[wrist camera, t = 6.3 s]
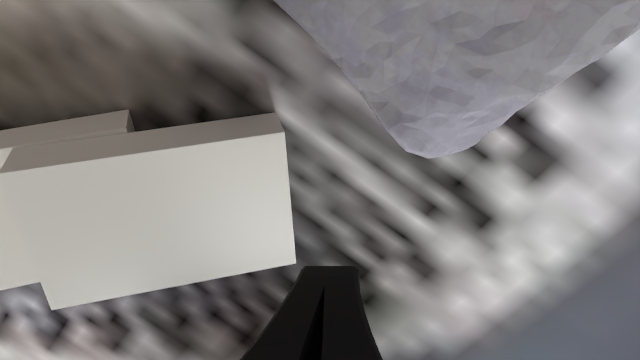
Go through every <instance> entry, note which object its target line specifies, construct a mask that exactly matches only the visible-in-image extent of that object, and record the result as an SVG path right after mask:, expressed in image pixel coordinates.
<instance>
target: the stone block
mask: <svg viewBox="0 0 640 360" xmlns="http://www.w3.org/2000/svg"><path fill="white" fill-rule="evenodd" d="M274 1H275V2H276V3H277V4H278V5H279V6H280V7H281V8H282V9H283V10H284V11H285V12H286V13H287V14H289V15H290V16H291V17H292V18H293V19H294V20H295V21H296V22H297V23H298V24H299V25H300V26H301V27H302V28H303V29H304V30H305V31H306V32H307V33H309V34H310V35H311V36H312V37H313V39H314V40H315V41H316V42H317V43H318V44H319V45H320V46H321V47H322V48H323V49H324V51H325V52H326V53H327V54H328V55H329V56H330V57H331V58H332V59H333V60H334V61H335V63H336V64H337V65H338V67H339V68H340V69H341V71H342V72H343V73H344V75H345V76H346V77H347V79H348V80H349V81H350V82H351V83H352V84H353V85H354V86H355V87H356V88H357V89H358V90H359V91H360V93H361V94H362V96H363V97H364V99H365V100H366V102H367V103H368V105H369V106H370V108H371V109H372V111H373V112H374V114H375V115H376V117H377V118H378V120H379V121H380V123H381V124H382V126H383V127H384V129H385V130H386V131H387V132H388V133H389V134H390V135H391V136H392V137H393V138H394V139H395V140H396V141H397V143H398V144H399V145H400V146H401V147H402V148H403V149H404V150H405V151H407V152H410V153H413V154H416V155H419V156H422V157H425V158H436V157H440V156H445V155H449V154H452V153H456V152H460V151H463V150H465V149H468V148H469V147H471V146H473V145H475V144H476V143H478V142H479V141H480V139H481V138H482V137H483V136H484V135H485V134H487V133H488V132H490V131H492V130H494V129H495V128H497V127H499V126H501V125H502V124H503V123H504V122H505V121H506V120H508V119H509V118H510V117H511V116H512V115H513V114H514V113H515V112H516V111H518V110H519V109H521V108H523V107H524V106H526V105H527V104H529V103H530V102H532V101H533V100H534V99H536V98H537V97H539V96H541V95H542V94H544V93H546V92H547V91H549V90H550V89H552V88H554V87H555V86H557V85H558V84H560V83H561V82H563V81H564V80H565V79H567V78H568V77H570V76H571V75H572V74H574V73H575V72H577V71H579V70H580V69H582V68H584V67H585V66H587V65H589V64H590V63H592V62H594V61H596V60H598V59H600V58H601V57H602V56H604V55H605V54H606V53H608V52H609V51H610V50H612V49H613V48H614V47H616V46H617V45H618V44H620V43H621V42H622V41H624V40H625V39H626V38H628V37H629V36H630V35H632V34H633V33H635V32H636V31H637V30H639V29H640V0H274Z"/></svg>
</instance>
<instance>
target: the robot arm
mask: <svg viewBox="0 0 640 360" xmlns="http://www.w3.org/2000/svg"><path fill="white" fill-rule="evenodd" d="M240 360H383V359H382V357H381V355H380V352H379V350H378V347H377V345H376V343H375V340H374V337H373V335H372V332H371V329H370V326H369V323H368V320H367V317H366V314H365V311H364V307H363V303H362V299H361V294H360V282H359V270H358V269H357V268H356V267H354V266H305V267H304V268H303V269H302V270H301V272H300V274H299V275H298V277H297V279H296V281H295V283H294V285H293V286H292V288H291V290H290V291H289V293H288V295H287V296H286V298H285V299H284V301H283V303H282V304H281V306H280V307H279V309H278V310H277V312H276V313H275V314H274V316H273V317H272V319H271V320H270V322H269V323H268V325H267V326H266V327H265V329H264V330H263V331H262V333H261V334H260V335H259V337H258V338H257V339H256V341H255V342H254V343H253V344H252V346H251V347H250V348H249V350H248V351H247V352H246V353H245V354H244V356H243V357H242V358H241V359H240Z"/></svg>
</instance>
